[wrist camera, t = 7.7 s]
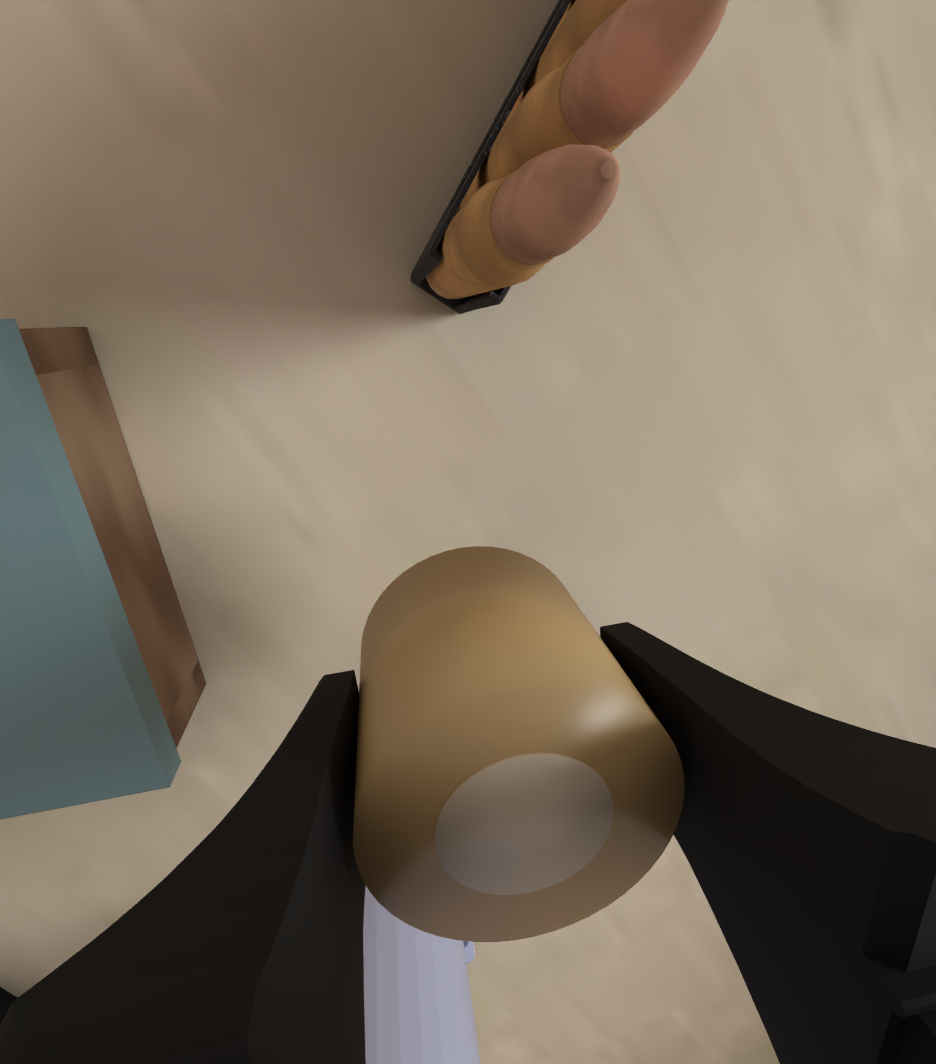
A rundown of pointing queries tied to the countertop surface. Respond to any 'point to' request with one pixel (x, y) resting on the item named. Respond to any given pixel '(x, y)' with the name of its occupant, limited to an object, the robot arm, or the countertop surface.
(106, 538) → the walnut box
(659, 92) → the ammunition clip
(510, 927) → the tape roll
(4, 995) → the beer stein
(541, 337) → the countertop surface
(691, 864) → the robot arm
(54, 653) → the lid
